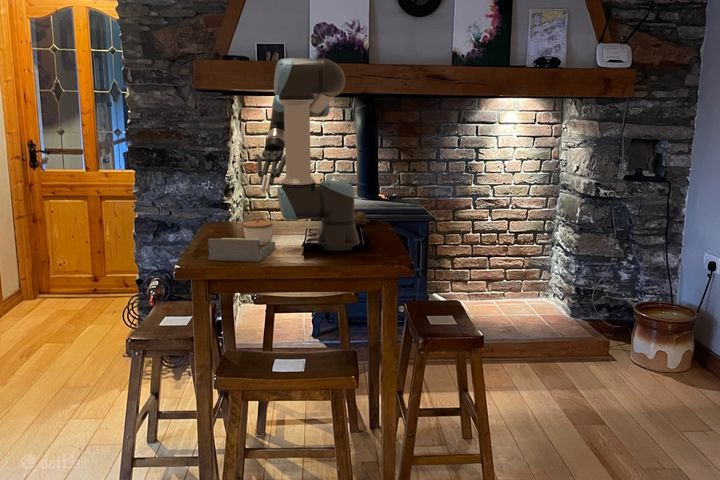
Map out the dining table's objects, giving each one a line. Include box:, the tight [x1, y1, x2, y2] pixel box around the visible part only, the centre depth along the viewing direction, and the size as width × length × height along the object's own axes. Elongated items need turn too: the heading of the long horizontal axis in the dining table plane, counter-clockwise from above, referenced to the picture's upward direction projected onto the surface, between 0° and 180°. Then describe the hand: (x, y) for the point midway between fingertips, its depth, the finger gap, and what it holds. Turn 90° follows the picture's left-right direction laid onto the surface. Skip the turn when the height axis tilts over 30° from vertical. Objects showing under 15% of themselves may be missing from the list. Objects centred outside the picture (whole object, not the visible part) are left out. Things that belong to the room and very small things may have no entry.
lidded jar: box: [242, 217, 273, 246], centre depth 235 cm, size 11×11×9 cm
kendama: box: [354, 211, 370, 228], centre depth 267 cm, size 6×10×20 cm
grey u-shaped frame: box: [207, 237, 276, 263], centre depth 219 cm, size 17×18×7 cm
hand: (264, 190), depth 242 cm, fingers closed
